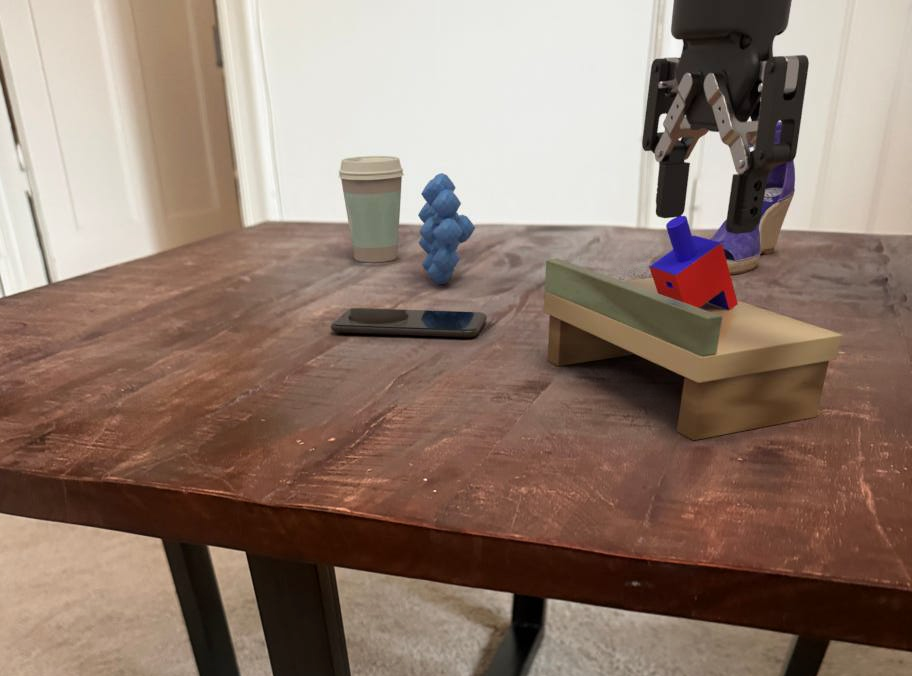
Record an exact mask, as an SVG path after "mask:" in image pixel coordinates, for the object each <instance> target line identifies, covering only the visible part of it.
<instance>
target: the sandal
mask: <svg viewBox="0 0 912 676" xmlns="http://www.w3.org/2000/svg"><path fill="white" fill-rule="evenodd" d="M781 127H782V122H781V121H778V122H777V125H776V131H775V139H774V143H780V135H781ZM748 145H749V149H752V148H753V145H752V144H751V143H749V142H748ZM794 160H795V159H794ZM794 160H793V161H792V162H790V163H783V164H781V165H778V166H776V167H774V168H773V169H772V170H771V171H770V172H769V174H768V177H767V183H766V189H765V195H764V200H763V201H764V202H763V206H762V214H761V218H760V220H759V222H758V224H757V227H756V229H755V230H754V231H753V232H749V233H741V234H734V233H729V232H727V231H726V220H727V218H726V219H725V220H724V221H723V222H722V224H721V225H720V227H719V228H718V229H717V230H716V232H715V233H714V234H713V236H712V237H711V238H710V240H713V241H717V242H721V243H722V246H723V249H724V253H725V257H726V261H727V264H728V268H729V272H730V276H731V275H738V274H742V273H743V274H744V273H747V272H751V271H753V270H755V269H756V268H757V267H758V263H759V262H760V259H761V255H769V254H771V253H774V252H775V248H776V245H777V244H778V240H779V236H780V233H781V229H782V227H783V224H784V222H785V219H786V216H787V213H788V211H789V209H790V207H791V203H792V200H793V198H794V196H795V192H796V190H795V189H796V188H795V187H796V186H795V185H796V184H795V183H796V168H795V161H794Z"/></svg>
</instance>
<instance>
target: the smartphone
mask: <svg viewBox="0 0 912 676" xmlns="http://www.w3.org/2000/svg"><path fill="white" fill-rule="evenodd" d="M487 319H488V318H487V314H486V313H485V312H482V311H481V312H480V311H462V310H461V311H458V310H457V311H456V310H428V309H427V310H425V309H399V308H398V309H397V308H370V307H368V308H365V307H351V308H348V309H347V310H345V311H344V312H343V313H342V314H341V315H340V316H338V317H337V318H336V319H335V320H334V321H333V322H332V323H331V324H330V329H331V331H332V332H335V333H345V334H346V333H347V334H367V335H369V334H371V335H395V336H396V335H398V336H418V337H419V336H421V337H422V336H423V337H444V338H445V337H446V338H449V337H450V338H473V337H476V336H477V335H478V334H479V333H480V332H481V330H482V328H483V326H484V324H485V323H486V321H487Z"/></svg>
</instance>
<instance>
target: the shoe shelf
mask: <svg viewBox="0 0 912 676" xmlns="http://www.w3.org/2000/svg"><path fill="white" fill-rule="evenodd" d="M544 273H545V275H544V294H543V295H544V297H543V298H544V299H543V313H545V314H547V315H549V317H548V318H549V320H548V321H549V322H548V341H547V361H548V362H550V363H552V364H553V365H554V366H557V367H561V366H568V365H574V364H581V363H589V362H595V361H602V360H606V359H607V360H608V359H615V358H620V357H627V356H634V355H637V356H639V357H641V358H643V359H645V360H647V361H649V362H651V363H654V364H656V365H658V366H660V367H662V368H664V369H667V370H669V371H671V372H673V373H675V374H677V375H680V376H682V377H683V378H684V379H683V385H682V392H681V400H680V405H679V412H678V413H679V415H678V421H677V429H676V432H677V433H678V434H681V435H683V436H685V437H686V438H688V439H690V440H692V441H699V440H704V439H708V438H715V437H718V436H724V435H731V434H734V433H739V432H744V431H745V432H746V431H750V430H755V429H760V428H765V427H771V426H775V425H781V424H785V423H792V422H796V421H800V420H807V419H812V418H816V417H818V416H817V415H818V411H819V406H820V402H821V399H822V394H823V390H824V385H825V381H826V376H827V372H828V369H829V368H828V367H829V364H830V362H831V361H836V360H837V359H838V355H839V351H840V348H841V343H842V339H843V334H842V333H838V332H836V331H833V330H829V329H826V328H824V327H820V326H817V325H814V324H810V323H807V322H804V321H801V320H799V319H795V318H792V317H789V316H786V315H783V314H779V313H777V312H773V311H771V310H767V309H763V308H761V307H758V306H755V305H752V304H749V303H747V302H746V303H745V302H743V301H740V300H737V302H738V305H736V306H735V307H733V308H732V309H731V310H727V309H724V308H722V307H719V306H716V305H713V304H710V303H708V302H707V303H705V304H704V305H703V306H701V307H700V308H698V307H695V306H692V305H689V304H686V303H683V302H681V301H678V300H675V299H672V298H669V297H666V296H664V295H661V294H658V292H657V289H656V286H655V283H654V280H653V277H652V276H651V277H646V278H638V279H628V280H621V279H617V278H615V277H613V276H609V275H607V274H603V273H601V272H598V271H595V270H592V269H590V268H586V267H584V266H581V265H579V264H575V263H572V262H569V261H567V260H563V259H562V258H549V259H548V258H547V259H545V272H544Z"/></svg>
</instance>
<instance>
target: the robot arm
mask: <svg viewBox="0 0 912 676" xmlns="http://www.w3.org/2000/svg"><path fill="white" fill-rule="evenodd" d="M792 3H793V0H673V4H672V13H671V25H670V33H671V36H672V37H673V38H674V39H675V40H677V41H678V40H679V41H682V44H683V45H682V49H681V54H680V57H677V56H676V57H664V58H661V57H660V58H655V59H654V60H653V61H652V64H651V65H650V73H649V81H648V90H647V98H646V107H645V116H644V117H645V118H644V123H643V133H642V139H641V145H642V146H641V147H642V149H643V151H644V152H652V153H653V154H654V159H655V162H657V163H659V164H658V173H657V184H656V185H657V187H656V195H655V215H656V217H658V218H662V219H674V218H676V217H679V216H683V214H684V212H685V210H686V200H687V191H688V185H689V176H690V167H691V162H687V161H686V160H688V159H689V158H690V156H691V154H692V153H693V151H694V149H695V147H696V145H697V143H698V141H699V140H700V139H701V138H702V137H704V136H706V135H707V134H708V133H709V132H712V133H718V134H719V137H720V140H721V142H722V143H723V145H726V146H728V148H729V151H730V155H731V158H732V162H733V165H734V169H735V172H736V173H734V174H732V179H731V186H730V193H729V200H728V207H727V213H726V219H727V220H726V219H725V220H726V231H727V232H729V233H734V234H741V233H749V232H753V231H754V230H755V229H756V227H757V224H758V222H759V220H760V218H761V214H762V206H763V202H764V201H763V200H764V195H765V189H766V183H767V177H768V174H769V172H770V171H771V170H772V169H773V168H774V167H776V166H778V165H781V164H783V163H790V162H792V161H793V160H795V159H796V157H797V151H798V144H799V137H800V129H801V123H802V118H803V117H802V116H803V108H804V102H805V95H806V87H807V79H808V74H809V65H810V62H809V58H808V56H807V55H805V54H796V55H777V56H774V51H773V50H774V47H773V46H774V40H775V38H776V37H777V36H780V35H782V34H784V32H785V31H786V30H787V28H788V26H789V25H788V24H789V20H790V13H791V7H792ZM662 115H666V116H665V118H664V120H663V122H662V126H663V128H664V131H662V132H659V123H660V118H661V116H662ZM749 119H750V120H749ZM777 122H782V127H781V135H780V143H774V139H775V131H776V125H777ZM748 142H749V143H751V144H752V145H753V147H752V149H753V150H751V148H749V145H748Z"/></svg>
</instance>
